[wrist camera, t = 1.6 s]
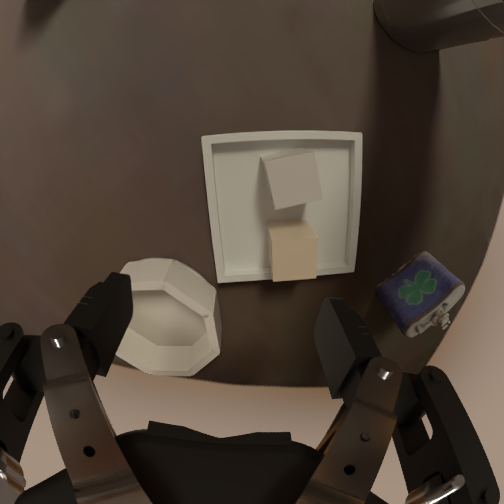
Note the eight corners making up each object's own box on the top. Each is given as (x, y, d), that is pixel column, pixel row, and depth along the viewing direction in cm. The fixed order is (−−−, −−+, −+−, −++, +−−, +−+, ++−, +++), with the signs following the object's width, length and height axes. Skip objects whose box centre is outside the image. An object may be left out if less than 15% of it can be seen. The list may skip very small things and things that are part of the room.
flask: (424, 246, 31) (474, 288, 21) (430, 261, 32) (476, 304, 22) (371, 288, 33) (408, 343, 23) (379, 301, 34) (415, 355, 24)
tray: (353, 132, 25) (362, 132, 23) (347, 263, 31) (354, 272, 29) (204, 136, 25) (201, 136, 23) (219, 272, 31) (218, 282, 29)
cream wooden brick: (305, 219, 28) (318, 237, 23) (305, 254, 29) (316, 278, 25) (266, 221, 28) (271, 240, 23) (268, 257, 29) (273, 281, 25)
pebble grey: (300, 147, 25) (314, 151, 20) (308, 187, 26) (322, 199, 22) (260, 156, 25) (264, 161, 20) (269, 195, 27) (275, 209, 22)
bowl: (212, 253, 30) (206, 278, 25) (226, 346, 36) (224, 375, 31) (101, 261, 30) (81, 283, 25) (132, 346, 36) (121, 372, 31)
